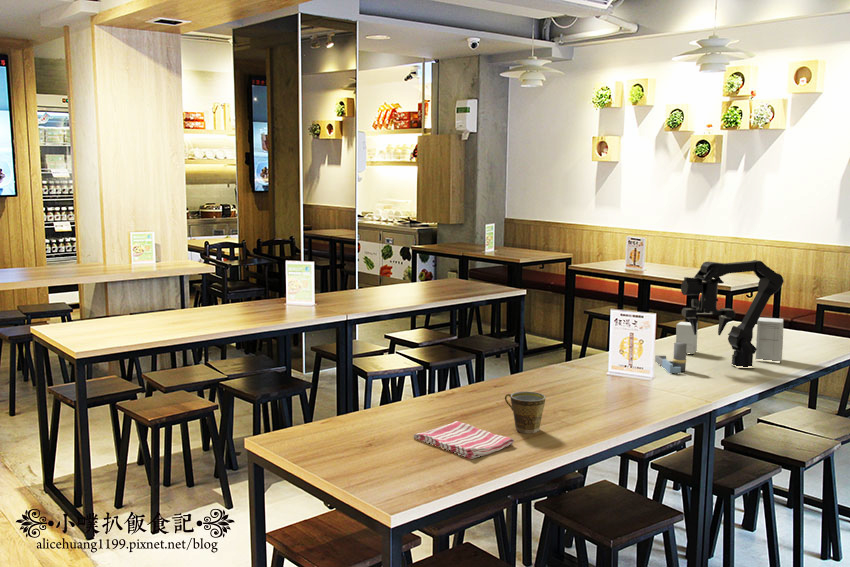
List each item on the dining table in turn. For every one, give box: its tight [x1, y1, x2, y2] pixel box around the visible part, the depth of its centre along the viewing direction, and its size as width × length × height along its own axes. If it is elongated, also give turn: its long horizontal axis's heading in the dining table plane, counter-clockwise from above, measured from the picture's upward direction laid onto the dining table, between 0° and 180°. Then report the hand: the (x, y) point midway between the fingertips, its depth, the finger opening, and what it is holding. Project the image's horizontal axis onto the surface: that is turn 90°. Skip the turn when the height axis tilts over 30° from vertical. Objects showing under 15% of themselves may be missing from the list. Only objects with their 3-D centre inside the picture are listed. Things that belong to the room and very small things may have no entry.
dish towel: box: [413, 420, 515, 460], centre depth 209 cm, size 17×23×4 cm
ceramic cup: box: [504, 391, 546, 434], centre depth 220 cm, size 13×10×10 cm
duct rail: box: [654, 354, 682, 374], centre depth 294 cm, size 4×20×4 cm, turn 178°
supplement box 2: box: [755, 316, 784, 362], centre depth 305 cm, size 10×9×17 cm
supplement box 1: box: [675, 321, 699, 354], centre depth 319 cm, size 7×7×13 cm
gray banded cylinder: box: [672, 342, 687, 372], centre depth 289 cm, size 5×5×10 cm
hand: (707, 335), depth 292 cm, fingers open, 9 cm apart
